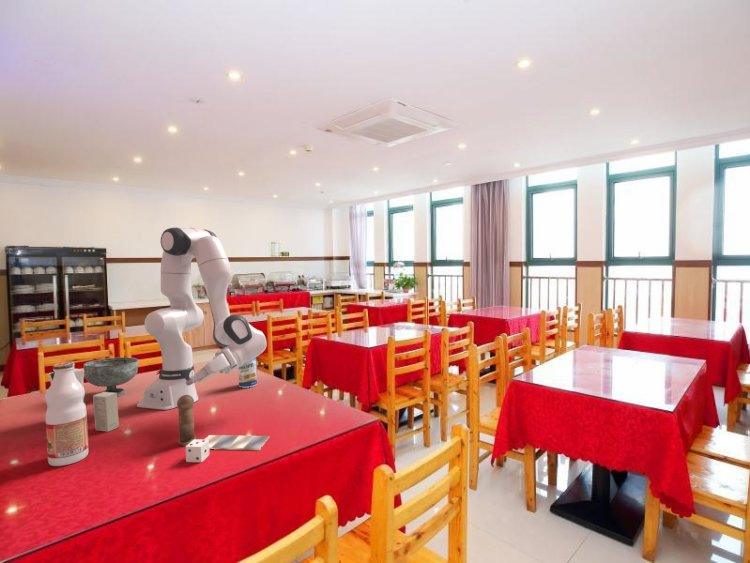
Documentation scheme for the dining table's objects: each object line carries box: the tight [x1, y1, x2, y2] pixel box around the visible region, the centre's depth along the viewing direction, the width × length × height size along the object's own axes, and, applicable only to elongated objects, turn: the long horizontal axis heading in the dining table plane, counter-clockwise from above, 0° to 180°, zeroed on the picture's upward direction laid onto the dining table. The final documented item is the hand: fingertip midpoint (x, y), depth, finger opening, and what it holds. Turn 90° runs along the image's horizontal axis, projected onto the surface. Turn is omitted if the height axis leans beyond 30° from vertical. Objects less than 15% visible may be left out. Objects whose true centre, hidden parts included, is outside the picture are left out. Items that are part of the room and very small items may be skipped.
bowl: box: [83, 356, 140, 397], centre depth 174 cm, size 20×19×15 cm
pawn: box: [177, 395, 197, 447], centre depth 125 cm, size 5×5×15 cm
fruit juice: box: [44, 361, 90, 467], centre depth 116 cm, size 9×9×28 cm
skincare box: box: [92, 391, 120, 432], centre depth 137 cm, size 6×4×12 cm
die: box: [185, 438, 210, 463], centre depth 115 cm, size 5×5×5 cm
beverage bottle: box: [237, 357, 258, 389], centre depth 183 cm, size 8×8×20 cm
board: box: [203, 434, 270, 451], centre depth 124 cm, size 20×9×1 cm, turn 85°
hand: (189, 382), depth 134 cm, fingers open, 8 cm apart
